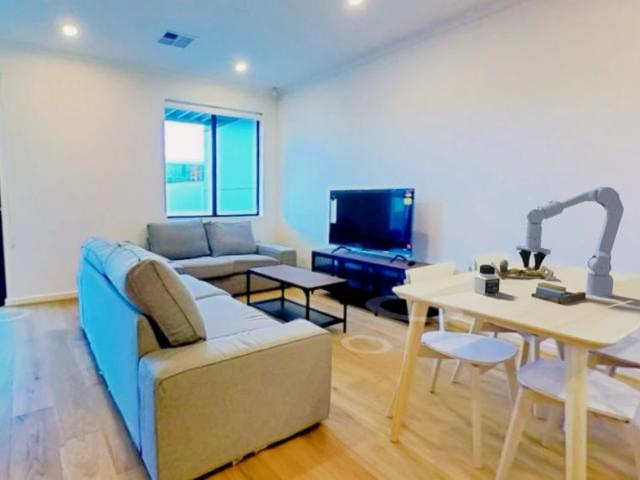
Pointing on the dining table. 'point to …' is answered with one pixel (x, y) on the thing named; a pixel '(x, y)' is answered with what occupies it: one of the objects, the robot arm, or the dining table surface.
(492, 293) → the medicine bottle
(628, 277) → the dining table surface
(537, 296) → the comb board
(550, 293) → the stick blue
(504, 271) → the toy food set
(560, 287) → the stick ochre
